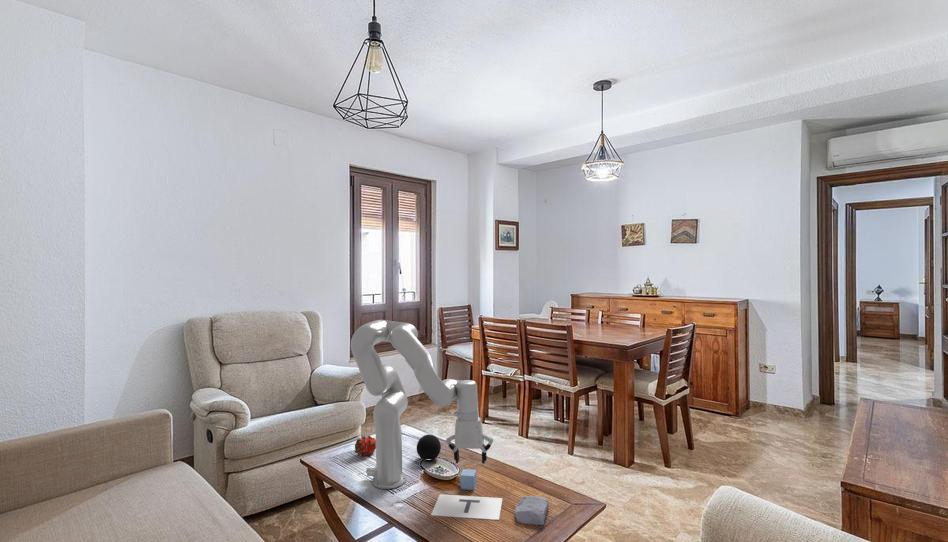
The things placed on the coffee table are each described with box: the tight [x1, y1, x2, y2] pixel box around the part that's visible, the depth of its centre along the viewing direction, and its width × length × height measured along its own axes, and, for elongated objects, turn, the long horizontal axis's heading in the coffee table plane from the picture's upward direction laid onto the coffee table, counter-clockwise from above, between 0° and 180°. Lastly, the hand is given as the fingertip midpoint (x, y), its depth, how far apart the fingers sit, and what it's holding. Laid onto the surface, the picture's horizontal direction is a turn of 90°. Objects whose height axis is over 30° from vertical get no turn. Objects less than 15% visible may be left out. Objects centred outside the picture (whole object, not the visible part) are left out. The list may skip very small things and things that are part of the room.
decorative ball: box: [416, 434, 442, 461], centre depth 186 cm, size 10×10×10 cm
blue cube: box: [459, 468, 477, 491], centre depth 163 cm, size 5×5×5 cm
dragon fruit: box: [354, 435, 376, 458], centre depth 192 cm, size 8×8×12 cm
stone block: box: [514, 495, 550, 526], centre depth 145 cm, size 12×5×10 cm
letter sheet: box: [430, 493, 503, 521], centre depth 149 cm, size 22×13×1 cm, turn 81°
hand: (470, 462), depth 163 cm, fingers open, 9 cm apart
